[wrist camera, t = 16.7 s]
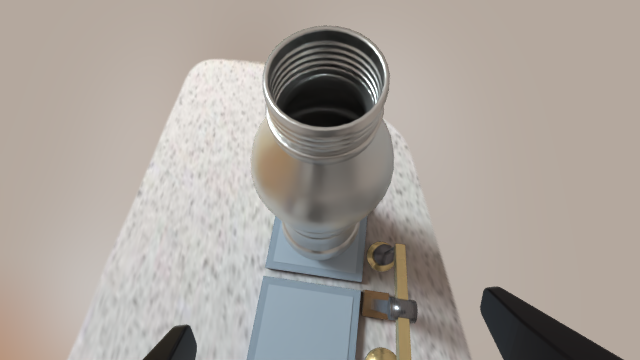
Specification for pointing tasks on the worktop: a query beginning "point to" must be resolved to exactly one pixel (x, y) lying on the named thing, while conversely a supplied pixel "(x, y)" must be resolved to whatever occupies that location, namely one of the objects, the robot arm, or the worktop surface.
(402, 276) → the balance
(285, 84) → the silver ridged hollow container
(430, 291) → the worktop surface
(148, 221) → the worktop surface
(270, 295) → the pale blue glass sheet
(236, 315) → the worktop surface
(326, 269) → the flat blue-gray rectangular plate
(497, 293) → the robot arm
